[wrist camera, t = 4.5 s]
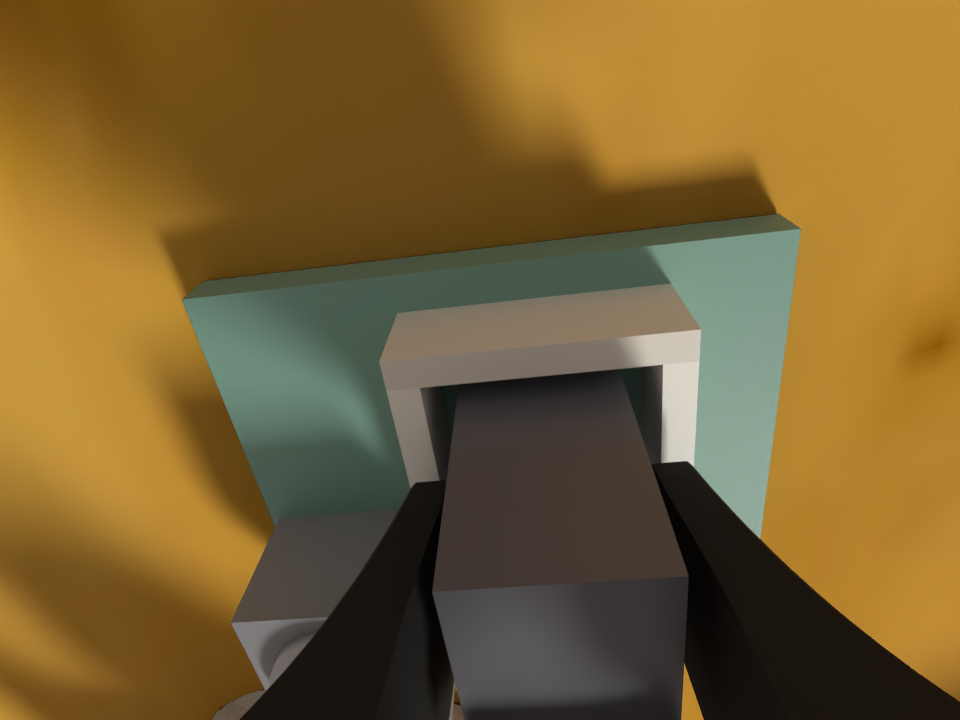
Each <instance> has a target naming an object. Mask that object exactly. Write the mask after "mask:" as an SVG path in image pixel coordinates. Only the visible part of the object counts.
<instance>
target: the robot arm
mask: <svg viewBox="0 0 960 720" xmlns="http://www.w3.org/2000/svg"><path fill="white" fill-rule="evenodd" d="M652 468H653V471H654V474H655V477H656V480H657V483H658V486H659V489H660V492H661V495H662V498H663V501H664V504H665V507H666V510H667V513H668V516H669V519H670V522H671V525H672V528H673V531H674V534H675V537H676V540H677V543H678V546H679V549H680V552H681V555H682V558H683V561H684V564H685V567H686V570H687V573H688V576H689V581H688V599H687V618H686V637H685V656H684V663H685V666H686V669H687V672H688V675H689V677H690V680H691V683H692V686H693V689H694V692H695V695H696V698H697V701H698V704H699V706H700V709H701V712H702V715H703V718H704V720H960V702H959V701H958V700H956V699H955V698H953V697H952V696H951V695H949V694H948V693H946V692H945V691H943V690H942V689H940V688H939V687H937V686H936V685H935V684H933V683H932V682H930V681H929V680H927V679H926V678H924V677H923V676H922V675H920V674H919V673H917V672H916V671H914V670H913V669H912V668H910V667H909V666H908V665H906V664H905V663H904V662H902V661H901V660H900V659H898V658H897V657H896V656H894V655H893V654H892V653H890V652H889V651H888V650H886V649H885V648H884V647H882V646H881V645H880V644H879V643H877V642H876V641H875V640H874V639H872V638H871V637H870V636H869V635H867V634H866V633H865V632H864V631H862V630H861V629H860V628H859V627H857V626H856V625H855V624H853V623H852V622H851V621H850V620H849V619H847V618H846V617H845V616H844V615H843V614H841V613H840V612H839V611H838V610H837V609H835V608H834V607H833V606H832V605H831V604H830V603H828V602H827V601H826V600H825V599H824V598H823V597H821V596H820V595H819V594H818V593H817V592H816V591H815V590H814V589H812V588H811V587H810V586H809V585H808V584H807V583H806V582H805V581H804V580H802V579H801V578H800V577H799V576H798V575H797V574H796V573H795V572H794V571H792V570H791V569H790V568H789V567H788V566H787V565H786V564H785V563H784V562H783V561H782V560H781V559H780V558H779V557H778V556H777V555H776V554H775V553H774V552H773V551H772V550H771V549H770V548H769V547H768V546H767V545H766V544H765V543H764V542H763V541H762V540H761V539H760V538H759V537H758V536H757V535H756V534H755V533H754V532H753V531H752V530H751V529H750V528H749V527H748V526H747V525H746V524H745V523H744V522H743V521H742V520H741V519H740V518H739V517H738V516H737V515H736V514H735V513H734V512H733V511H732V509H731V508H730V507H729V506H728V505H727V504H726V503H725V502H724V501H723V500H722V499H721V498H720V496H719V495H718V494H717V493H716V492H715V491H714V490H713V489H712V487H711V486H710V485H709V484H708V483H707V482H706V481H705V479H704V478H703V477H702V476H701V475H700V474H699V472H698V471H697V470H696V469H695V468H694V466H693V465H691V464H690V463H689V462H688V461H680V462H668V463H655V464H652ZM446 481H447V480H441V481H429V482H416V483H415V484H414V485H413V486H412V487H411V489H410V491H409V492H408V494H407V496H406V498H405V500H404V502H403V503H402V505H401V507H400V509H399V510H398V512H397V514H396V516H395V517H394V519H393V521H392V522H391V524H390V526H389V527H388V529H387V531H386V532H385V534H384V536H383V537H382V539H381V541H380V542H379V544H378V545H377V547H376V548H375V550H374V552H373V553H372V555H371V556H370V558H369V559H368V561H367V562H366V564H365V565H364V567H363V569H362V570H361V572H360V573H359V575H358V576H357V578H356V579H355V580H354V582H353V583H352V585H351V586H350V587H349V589H348V590H347V592H346V593H345V594H344V596H343V597H342V599H341V600H340V601H339V603H338V604H337V605H336V607H335V608H334V610H333V611H332V612H331V614H330V615H329V617H328V618H327V619H326V620H325V622H324V623H323V624H322V626H321V627H320V628H319V629H318V631H317V632H316V633H315V635H314V636H313V637H312V638H311V640H310V641H309V642H308V643H307V644H306V646H305V647H304V648H303V649H302V650H301V652H300V653H299V654H298V655H297V656H296V658H295V659H294V660H293V661H292V662H291V664H290V665H289V666H288V667H287V668H286V669H285V671H284V672H283V673H282V674H281V675H280V676H279V677H278V678H277V679H276V680H275V682H274V683H273V684H272V685H271V686H270V687H269V688H268V689H267V690H266V691H265V693H264V694H263V695H262V696H261V697H260V698H259V699H258V700H257V701H256V702H255V703H254V705H253V706H252V707H251V708H250V709H249V710H248V711H247V712H246V713H245V714H244V715H243V716H242V717H241V718H240V719H239V720H449V716H450V709H451V701H452V694H453V686H454V676H453V672H452V668H451V664H450V660H449V656H448V653H447V649H446V645H445V641H444V637H443V633H442V629H441V625H440V621H439V617H438V613H437V609H436V605H435V601H434V597H433V593H432V589H433V582H434V574H435V566H436V558H437V551H438V543H439V535H440V527H441V520H442V512H443V504H444V496H445V489H446Z"/></svg>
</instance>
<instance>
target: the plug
mask: <svg viewBox="0 0 960 720" xmlns="http://www.w3.org/2000/svg"><path fill="white" fill-rule="evenodd" d="M688 581H689V576H688V573H687V570H686V567H685V564H684V561H683V558H682V555H681V552H680V549H679V546H678V543H677V540H676V537H675V534H674V531H673V528H672V525H671V522H670V519H669V516H668V513H667V510H666V507H665V504H664V501H663V498H662V495H661V492H660V489H659V486H658V483H657V480H656V477H655V474H654V471H653V468H652V465H651V462H650V459H649V456H648V453H647V450H646V447H645V444H644V441H643V438H642V435H641V432H640V429H639V426H638V423H637V420H636V417H635V414H634V412H633V409H632V406H631V403H630V400H629V397H628V394H627V391H626V388H625V385H624V382H623V379H622V376H621V373H620V370H619V369H613V370H603V371H592V372H582V373H571V374H561V375H550V376H540V377H529V378H519V379H508V380H498V381H487V382H477V383H466V384H459V388H458V396H457V404H456V411H455V419H454V427H453V435H452V442H451V450H450V458H449V466H448V473H447V481H446V489H445V496H444V504H443V512H442V520H441V527H440V535H439V543H438V551H437V558H436V566H435V574H434V582H433V589H432V593H433V597H434V601H435V605H436V609H437V613H438V617H439V621H440V625H441V629H442V633H443V637H444V641H445V645H446V649H447V653H448V656H449V660H450V664H451V668H452V672H453V676H454V680H455V684H456V688H457V692H458V696H459V700H460V704H461V708H462V712H463V716H464V720H681V712H682V693H683V674H684V656H685V637H686V618H687V599H688Z"/></svg>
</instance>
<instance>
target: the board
mask: <svg viewBox="0 0 960 720" xmlns="http://www.w3.org/2000/svg"><path fill="white" fill-rule="evenodd" d="M800 232H801V229H800V228H799V227H798V226H796V225H795V224H793V223H792V222H790V221H789V220H787V219H786V218H784V217H783V216H781V215H780V214H773V215H764V216H756V217H747V218H739V219H730V220H721V221H713V222H704V223H696V224H687V225H679V226H670V227H662V228H653V229H645V230H636V231H628V232H619V233H611V234H602V235H594V236H585V237H577V238H568V239H560V240H551V241H542V242H534V243H525V244H517V245H508V246H500V247H491V248H483V249H474V250H466V251H457V252H449V253H440V254H432V255H423V256H415V257H406V258H398V259H389V260H381V261H372V262H363V263H355V264H346V265H338V266H329V267H321V268H312V269H304V270H295V271H287V272H278V273H270V274H261V275H253V276H244V277H236V278H227V279H219V280H210V281H204V282H202V283H201V284H200V285H199V286H198V287H196V288H195V289H194V290H193V291H192V292H190V293H189V294H188V295H187V296H186V297H184V298H183V299H182V301H183V304H184V306H185V309H186V311H187V313H188V316H189V318H190V321H191V323H192V326H193V328H194V330H195V333H196V335H197V338H198V340H199V343H200V345H201V348H202V350H203V352H204V355H205V357H206V360H207V362H208V365H209V367H210V370H211V372H212V374H213V377H214V379H215V382H216V384H217V387H218V389H219V391H220V394H221V396H222V399H223V401H224V404H225V406H226V409H227V411H228V413H229V416H230V418H231V421H232V423H233V426H234V428H235V431H236V433H237V435H238V438H239V440H240V443H241V445H242V448H243V450H244V452H245V455H246V457H247V460H248V462H249V465H250V467H251V470H252V472H253V474H254V477H255V479H256V482H257V484H258V487H259V489H260V492H261V494H262V496H263V499H264V501H265V504H266V506H267V509H268V511H269V514H270V516H271V518H272V521H273V523H274V526H275V528H274V530H273V533H272V535H271V537H270V539H269V541H268V543H267V546H266V548H265V550H264V552H263V554H262V556H261V559H260V561H259V563H258V565H257V567H256V569H255V572H254V574H253V576H252V578H251V580H250V582H249V585H248V587H247V589H246V591H245V593H244V595H243V598H242V600H241V602H240V604H239V606H238V608H237V611H236V613H235V615H234V617H233V619H232V621H231V624H232V626H233V628H234V630H235V632H236V634H237V636H238V638H239V640H240V642H241V644H242V646H243V648H244V650H245V651H246V653H247V655H248V657H249V659H250V661H251V663H252V665H253V667H254V669H255V671H256V673H257V675H258V677H259V679H260V681H261V683H262V685H263V686H264V688H265V690H267V689H268V688H269V687H270V686H271V685H272V684H273V683H274V682H275V680H276V679H277V678H278V677H279V676H280V675H281V674H282V673H283V672H284V671H285V669H286V668H287V667H288V666H289V665H290V664H291V662H292V661H293V660H294V659H295V658H296V656H297V655H298V654H299V653H300V652H301V650H302V649H303V648H304V647H305V646H306V644H307V643H308V642H309V641H310V640H311V638H312V637H313V636H314V635H315V633H316V632H317V631H318V629H319V628H320V627H321V626H322V624H323V623H324V622H325V620H326V619H327V618H328V617H329V615H330V614H331V612H332V611H333V610H334V608H335V607H336V605H337V604H338V603H339V601H340V600H341V599H342V597H343V596H344V594H345V593H346V592H347V590H348V589H349V587H350V586H351V585H352V583H353V582H354V580H355V579H356V578H357V576H358V575H359V573H360V572H361V570H362V569H363V567H364V565H365V564H366V562H367V561H368V559H369V558H370V556H371V555H372V553H373V552H374V550H375V548H376V547H377V545H378V544H379V542H380V541H381V539H382V537H383V536H384V534H385V532H386V531H387V529H388V527H389V526H390V524H391V522H392V521H393V519H394V517H395V516H396V514H397V512H398V510H399V509H400V507H401V505H402V503H403V502H404V500H405V498H406V496H407V494H408V492H409V491H410V489H411V487H412V486H413V485H414V484H415V483H416V482H429V481H441V480H447V473H448V466H449V458H450V450H451V442H452V435H453V427H454V419H455V411H456V404H457V396H458V388H459V384H466V383H477V382H487V381H498V380H508V379H519V378H529V377H540V376H550V375H561V374H571V373H582V372H592V371H603V370H613V369H619V370H620V373H621V376H622V379H623V382H624V385H625V388H626V391H627V394H628V397H629V400H630V403H631V406H632V409H633V412H634V414H635V417H636V420H637V423H638V426H639V429H640V432H641V435H642V438H643V441H644V444H645V447H646V450H647V453H648V456H649V459H650V462H651V465H652V464H655V463H668V462H680V461H688V462H689V463H690V464H691V465H693V466H694V468H695V469H696V470H697V471H698V472H699V474H700V475H701V476H702V477H703V478H704V479H705V481H706V482H707V483H708V484H709V485H710V486H711V487H712V489H713V490H714V491H715V492H716V493H717V494H718V495H719V496H720V498H721V499H722V500H723V501H724V502H725V503H726V504H727V505H728V506H729V507H730V508H731V509H732V511H733V512H734V513H735V514H736V515H737V516H738V517H739V518H740V519H741V520H742V521H743V522H744V523H745V524H746V525H747V526H748V527H749V528H750V529H751V530H752V531H753V532H754V533H755V534H756V535H757V536H758V537H759V538H760V535H761V528H762V520H763V513H764V505H765V497H766V490H767V482H768V475H769V467H770V459H771V452H772V444H773V437H774V429H775V421H776V414H777V406H778V399H779V391H780V383H781V376H782V368H783V361H784V353H785V346H786V338H787V330H788V323H789V315H790V308H791V300H792V292H793V285H794V277H795V270H796V262H797V254H798V247H799V239H800ZM454 693H455V680H454V686H453V694H452V701H451V709H450V716H449V720H452V719H453V706H454Z"/></svg>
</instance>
